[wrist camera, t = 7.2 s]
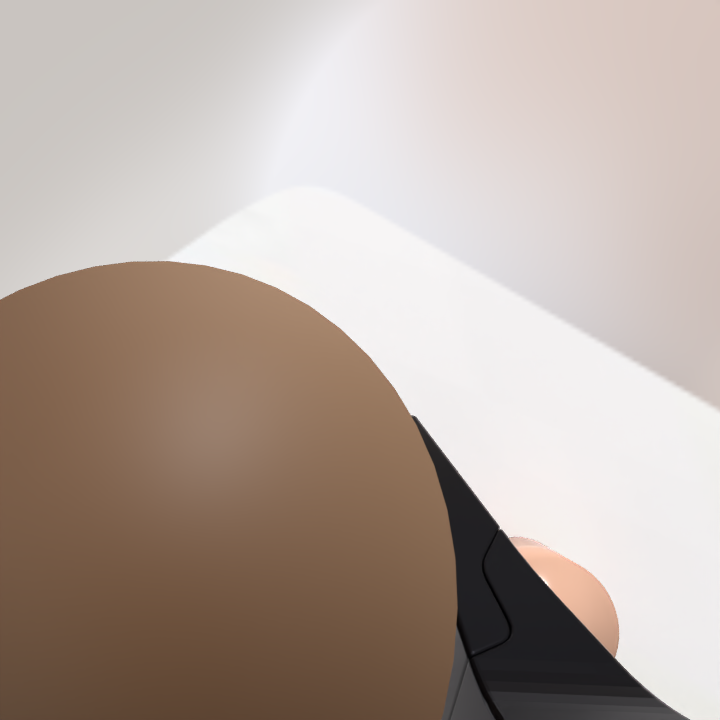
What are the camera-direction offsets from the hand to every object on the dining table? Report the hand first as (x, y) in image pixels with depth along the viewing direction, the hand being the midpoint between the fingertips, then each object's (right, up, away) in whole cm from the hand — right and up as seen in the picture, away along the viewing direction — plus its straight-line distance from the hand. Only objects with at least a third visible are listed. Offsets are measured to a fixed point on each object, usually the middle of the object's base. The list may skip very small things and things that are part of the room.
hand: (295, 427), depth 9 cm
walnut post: (0, -3, +6) cm, 7 cm away
